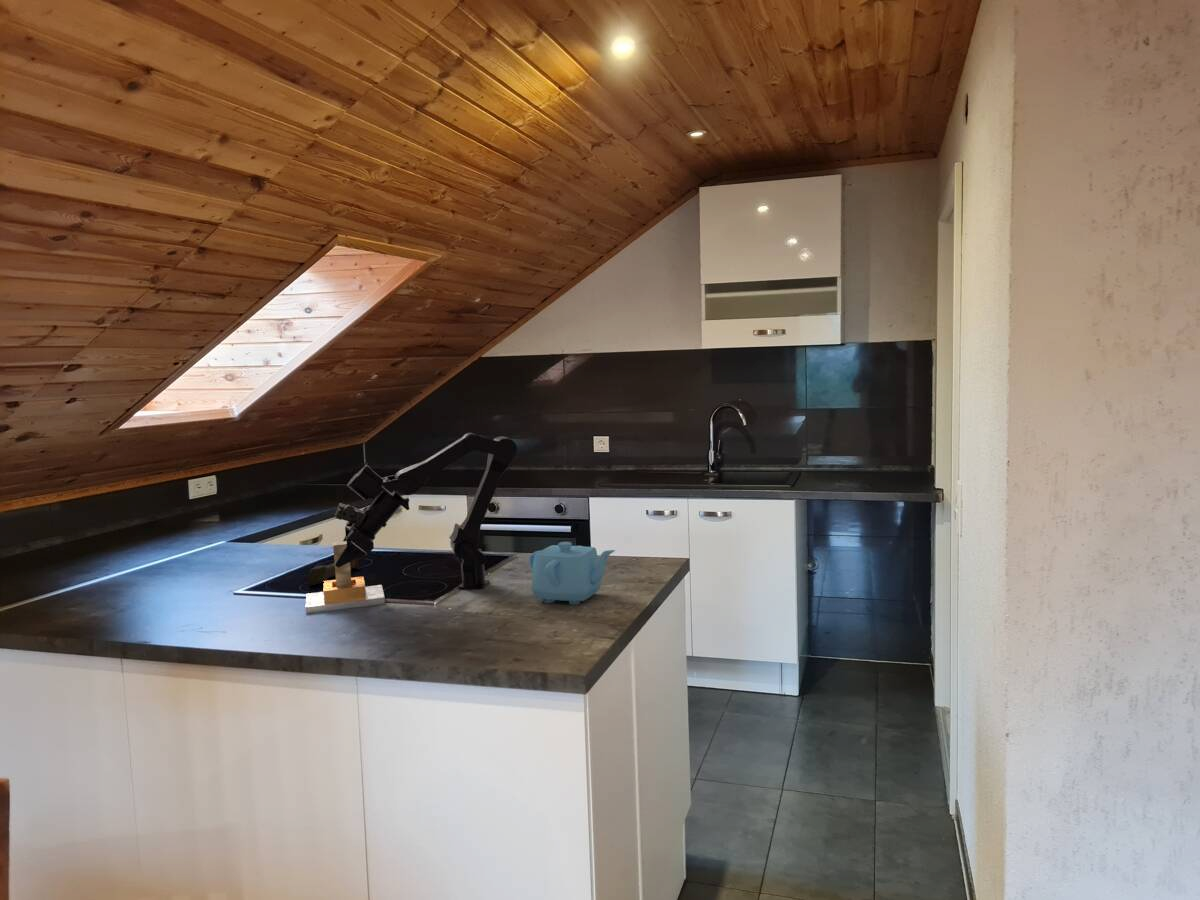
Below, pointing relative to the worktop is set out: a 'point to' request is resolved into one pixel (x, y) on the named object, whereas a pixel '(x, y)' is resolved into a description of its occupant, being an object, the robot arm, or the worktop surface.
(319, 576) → the hand tool
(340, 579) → the tan block
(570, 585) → the teapot
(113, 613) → the worktop surface
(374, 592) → the bracket plate
